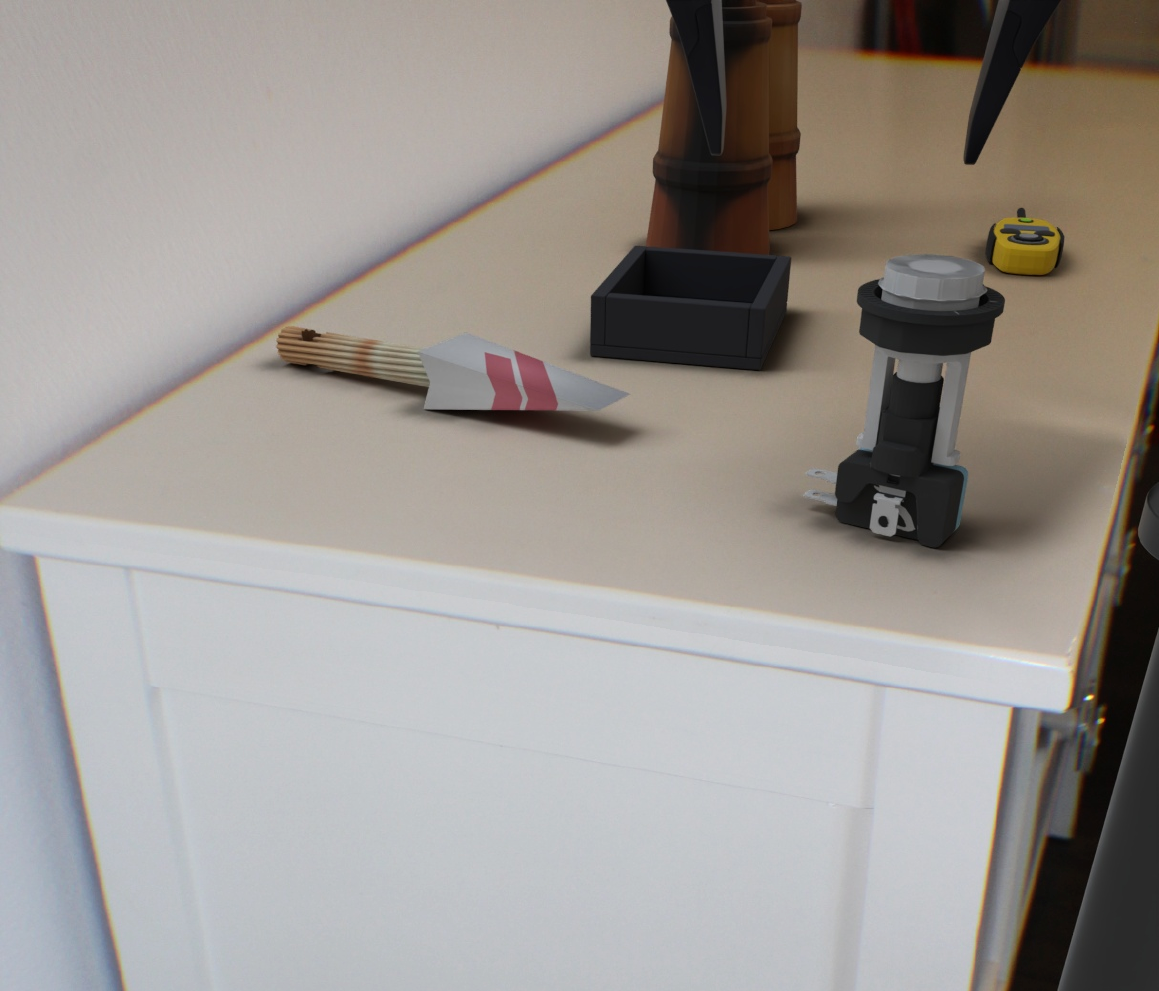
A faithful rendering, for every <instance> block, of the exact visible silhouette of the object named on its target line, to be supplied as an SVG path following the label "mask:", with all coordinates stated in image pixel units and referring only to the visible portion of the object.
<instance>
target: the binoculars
mask: <svg viewBox="0 0 1159 991" xmlns="http://www.w3.org/2000/svg"><path fill="white" fill-rule="evenodd" d="M802 7H803V4H802V2H801V1H798V0H722V19H723V40H724V61H725V82H726V122H725V136H724V148H723V152H722V154H721V155H720V156H717V155H711V153H710V150H709V146H708V142H707V138H706V134H705V130H704V126H703V122H702V119H701V115H700V111H699V107H698V103H697V99H696V95H695V92H694V88H693V84H692V80H691V76H690V72H689V68H688V64H687V61H686V60H687V59H686V57H685V53H684V50H683V46H682V43H681V39H680V36H679V33H678V31H677V28H676V25H675V22H674V20H673V17H672V16H671V17H670V18H669V29H668V30H669V32H668V33H669V37H670V39H671V41H670V49H669V57H668V65H667V73H666V81H665V90H664V96H663V105H662V114H661V122H660V131H659V138H658V147H657V150H656V152H655V154H654V156H653V158H652V175H653V177H654V179H655V180H654V187H653V194H652V200H651V208H650V213H649V221H648V228H647V235H646V241H645V246H647V247H663V248H677V249H692V250H706V251H720V252H734V253H749V254H763V255H770V251H771V250H770V231H775V230H781V229H784V228H788V227H791V226H792V225H794V224H796V223H797V222H798V190H797V189H798V187H797V186H798V184H797V179H798V178H797V155H798V154H799V151H800V146H801V136H802V132H801V130H800V129H799V127H798V95H799V94H798V92H799V90H798V89H799V88H798V87H799V84H798V82H799V79H798V78H799V76H798V75H799V23H800V20H801V18H802V10H803V8H802Z"/></svg>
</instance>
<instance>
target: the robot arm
mask: <svg viewBox="0 0 1159 991" xmlns="http://www.w3.org/2000/svg"><path fill="white" fill-rule="evenodd" d="M665 2H666V4H667V7H668V9H669V12H670V15H671V17H673V20H674V22H675V25H676V28H677V31H678V33H679V36H680V39H681V43H682V46H683V50H684V53H685V57H686V59H687V60H686V61H687V64H688V68H689V72H690V76H691V80H692V84H693V88H694V92H695V95H696V99H697V103H698V107H699V111H700V115H701V119H702V122H703V126H704V130H705V134H706V138H707V142H708V146H709V150H710V153H711V155H717V156H720V155H721V154H722V152H723V148H724V136H725V122H726V82H725V61H724V40H723V19H722V0H665ZM1061 2H1062V0H998V2H997V6H996V9H995V14H994V17H993V21H992V24H991V29H990V32H989V37H988V41H987V43H986V47H985V52H984V56H983V59H982V62H981V63H982V64H981V66H980V71H979V74H978V79H977V82H976V86H975V90H974V94H973V98H972V102H971V106H970V109H969V114H968V120H967V126H966V134H965V143H964V148H963V149H964V150H963V157H962V158H963V160H962V161H963V164H964V165H965V166H975V164H977V162H978V160H979V158H980V155H981V153H982V151H983V149H984V147H985V146H986V143H987V142H988V139H989V137H990V136H991V133H992V131H993V129H994V127H995V124H996V123H997V120H998V118H999V116H1000V114H1001V112H1002V110H1003V108H1004V106H1005V104H1006V102H1007V100H1008V98H1009V96H1010V93H1011V92H1012V89H1013V87H1014V85H1015V84H1016V81H1017V79H1018V77H1019V75H1020V73H1021V71H1022V69H1023V67H1024V65H1025V63H1026V61H1027V58H1028V57H1029V55H1030V53H1031V51H1032V49H1033V47H1034V45H1035V44H1036V42H1037V40H1038V39H1039V37H1040V35H1041V34H1042V32H1043V30H1044V29H1045V27H1046V25H1047V24H1048V23H1049V21H1050V19H1051V18H1052V17H1053V14H1054V13H1055V12H1056V10H1057V8H1058V7H1059V5H1060V4H1061Z"/></svg>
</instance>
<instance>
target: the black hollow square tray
mask: <svg viewBox="0 0 1159 991" xmlns="http://www.w3.org/2000/svg"><path fill="white" fill-rule="evenodd" d="M791 267H792V256H790V255H789V256H788V255H787V256H786V255H775V254H769V255H763V254H749V253H734V252H720V251H706V250H692V249H677V248H663V247H647V246H646V245H634V246H633V247H632V248H631V249H630V250H629V251H628V253H627V254H626V255H625V256H624V257H623V259H621V261H619V263H618V264H617V265H616V266H615V268H614V269H613V270H612V271H610V274H608V276H607V277H606V278H605V279H604V280H603V281H602V282H601V283H600V285H599V286H598V287H597V288H596V289H595V290H594V291H593V293H592V294H591V295H590V322H589V324H590V327H589V329H590V330H589V332H590V336H589V343H590V345H589V355H590V356H591V357H600V358H613V359H624V360H635V361H645V362H646V361H647V362H659V363H668V364H669V363H670V364H682V365H693V366H694V365H695V366H704V367H705V366H706V367H715V368H718V367H719V368H730V369H738V370H739V369H740V370H752V371H761V369H762V366H763V365H764V362H765V361H766V359H767V356H768V354H769V351H770V349H771V347H772V345H773V342H774V341H775V338H776V336H777V334H778V332H779V329H780V328H781V325H782V323H783V320H784V319H785V316H786V314H787V310H788V303H787V302H788V298H789V289H790V278H791Z"/></svg>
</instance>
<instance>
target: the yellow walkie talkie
mask: <svg viewBox="0 0 1159 991" xmlns="http://www.w3.org/2000/svg"><path fill="white" fill-rule="evenodd" d="M1064 246H1065V234H1064V233H1063V230H1062V229H1061V228H1060V227H1059V226H1056V227H1055V226H1054V225H1053V224H1051V223H1050V221H1049V222H1048V221H1047V220H1046V219H1042V218H1041V219H1040V218H1033V217H1032V218H1031V217H1027V213H1026V210H1025V208H1024V207H1018V209H1017V210H1016V217H1005V218H1002V219H1000V220H999V221H998V222H994V223H993V224H992V225H991V226H990V227H989V230H988V235H987V238H986V244H985V257H986V260H987V261H988V263H989V264H990V265H994V266H995V267H996V268H997V269H999V271H1001V272H1003V273H1007V274H1013V275H1027V276H1043V275H1047V274H1050V272H1052V270H1054V269H1056V268H1058V267H1059V265H1060V263H1061V260H1062V257H1063V252H1064Z"/></svg>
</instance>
